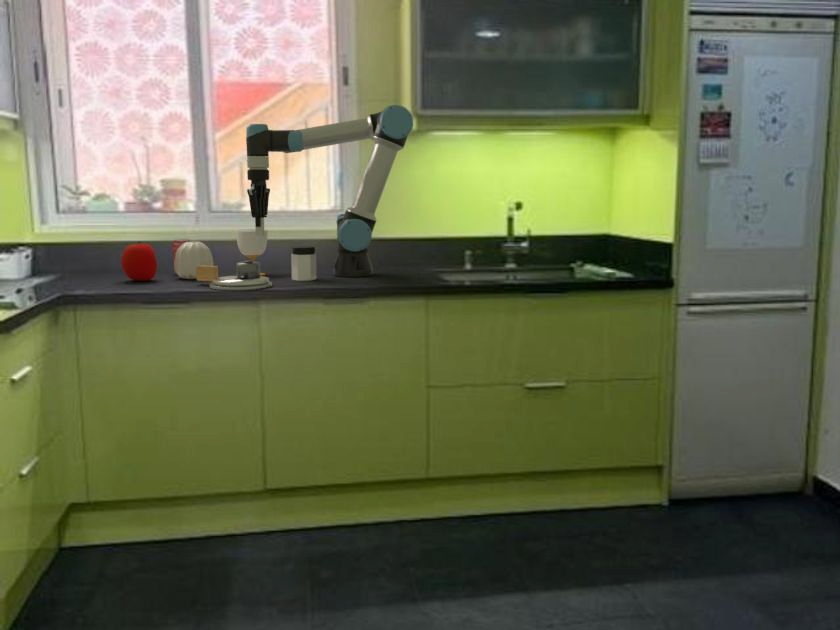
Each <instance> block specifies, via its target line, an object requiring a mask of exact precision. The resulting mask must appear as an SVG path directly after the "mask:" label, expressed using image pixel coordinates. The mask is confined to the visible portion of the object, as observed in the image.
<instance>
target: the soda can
mask: <svg viewBox="0 0 840 630" xmlns="http://www.w3.org/2000/svg"><path fill="white" fill-rule="evenodd" d="M185 242H192V241H191V239H188V238H185V239H182V238H181V239H179V238H178V239H174V240H173V243H172V254H173V256H172V257H173V264H174V263H175V255H176V252H177V249H178V248H179V247H180V246H181V245H182V244H184V243H185ZM173 269H174V273H175V274H176V275H178V274H177V273H176V272H175V268H174V267H173Z"/></svg>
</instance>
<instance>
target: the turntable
mask: <svg viewBox="0 0 840 630" xmlns="http://www.w3.org/2000/svg"><path fill="white" fill-rule="evenodd" d="M196 276H197V279H196V281H198V282H199V281H201V282H202V281H203V282H211V283H212V284H214V285H218V286H255V285H262V284H267V283H269V281H270V278H269V277H267V276H264V275H263V276H260V277H259V278H251V279H242V278H237V275H227V276H226V275H225V276H219V266H218V265H214V266H204V265H199V266H196Z"/></svg>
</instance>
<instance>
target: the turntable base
mask: <svg viewBox="0 0 840 630" xmlns="http://www.w3.org/2000/svg"><path fill="white" fill-rule="evenodd" d="M270 286H271V287H272V286H273V282H272V281H270V280H269V283H267V284H262V285H255V286H218V285H214V284H212V282H210V283H209V289H211V288H212V290H215V289H216V291H226V292H227V291H228V292H230V291H233V292H241V291H242V292H243V291H244V292H245V291H257V290H256V289H258V290H261V289H260V288H265V289H267V288H266V287H269V288H271V287H270Z"/></svg>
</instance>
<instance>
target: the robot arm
mask: <svg viewBox="0 0 840 630" xmlns="http://www.w3.org/2000/svg"><path fill="white" fill-rule="evenodd" d="M413 127H414V119H413V115H412V114H411V112H410V110H408V109H407V107H405V106H403V105H399V104H391V105H388V106H386V107H385V108H384V109H383V110H382V111H378V112H376V113H372V114H368V115H367V116H366V117H364V118H360V119H359V118H357V119H353V120H352V119H351V120H347V121H342V122H335V123H330V124H324V125H318V126H313V127H312V126H311V127H306V128H300V129H269V126H268V124H266V123H250V124H247V125H246V130H245V131H246V136H245V138H246V140H245V141H246V143H245V144H246V165H247V168H248V170H246V171H247V173H246V174H247V180H248V181H251V182H250V188H247V189H246V192H247V195H248V201H249V207H250V214H251V217H252V218H254V219H255V220H254V221H255V222H254V223H255V224H254V225H255V228H254V229H256V236H265V235H264V229H265V218H268V212H269V211H268V210H269V209H268V208H269V198H270V192H271V188H268V187H267V181H269V180H270V170H269V168H270V160H269V158H270V157H269V156H270V155H269V153H271V152H272V153H273V152H274V153H275V152H276V153H277V152H278V153H284V154H290V153H301V152H302V151H303V150H311V149H312V150H313V149H317V148H321V147H322V148H323V147H328V146H329V147H330V146H334V145H342V144H346V143H352V142H358V141H365V140H369V139H370V140H371V141H372V142H374V145H373V147H372V150H371V152H370V156H369V158H368V161H367V164H366V167H365V170H364V172H363V174H362V178H361V181H360V183H359V186H358V189H357V192H356V193H355V194H356V195H355V197H354V200H353V203H352V205H351V206H349V207H348V208H346V209H345V212H344V213H340V214H338V215H337V216H336V236H337V237H336V239H337V241H336V242H337V245H336V246H337V255H336V259H335V261H334V265H333V268H332V269H333V270H332V275H333V276H335V277H344V278H346V277H347V278H355V277H356V278H358V277H359V278H360V277H369V276H372V275H374V269H373V265H372V263H371V260H370V256H369V245H370V243H371V241H372V236H373V231H374V228H375V226H376V223H377V218H376V215H375V214H376V211H377V208H378V206H379V203H380V200H381V198H382V195H383V192H384V190H385V186H386V183H387V181H388V179H389V176H390V173H391V170H392V168H393V165H394V163H395V159H396V157H397V154H398V152H399V151H402V150H403V149H404V147H405V144H406V142H407V139H408V136H409V134H410V133H411V132H412V130H413Z"/></svg>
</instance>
